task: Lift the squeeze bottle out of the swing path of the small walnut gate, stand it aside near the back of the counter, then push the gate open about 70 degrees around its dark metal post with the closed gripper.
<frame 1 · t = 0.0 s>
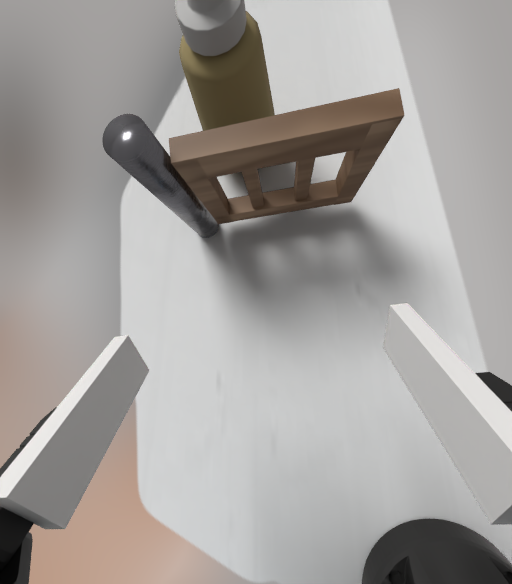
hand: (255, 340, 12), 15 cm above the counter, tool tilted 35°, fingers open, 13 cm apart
gate: (280, 177, 20), point 8 cm above the counter, hinge at 0.0°
gate post: (206, 225, 29), on the counter
squeeze bottle: (245, 151, 29), on the counter
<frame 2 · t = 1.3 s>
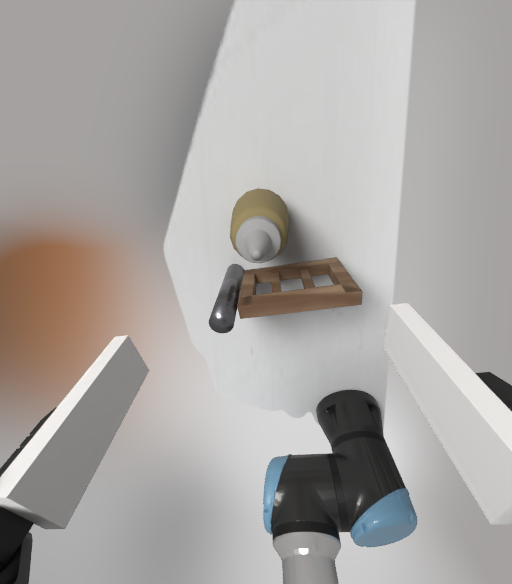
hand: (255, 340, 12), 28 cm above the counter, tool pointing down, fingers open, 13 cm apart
gate: (293, 284, 33), point 8 cm above the counter, hinge at 0.0°
gate post: (235, 271, 41), on the counter
squeeze bottle: (260, 214, 36), on the counter
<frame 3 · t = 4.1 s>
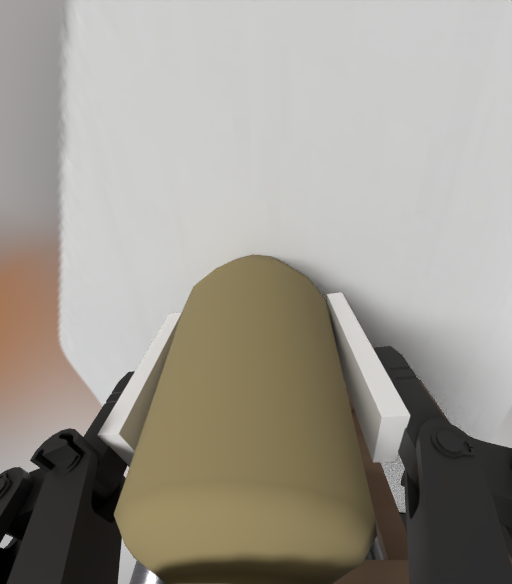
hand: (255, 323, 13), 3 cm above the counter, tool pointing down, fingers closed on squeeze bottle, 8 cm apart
gate: (337, 481, 13), point 8 cm above the counter, hinge at 0.0°
gate post: (209, 383, 21), on the counter
squeeze bottle: (257, 291, 16), on the counter, touching gripper
when the fingers open (5 cm above the counter, at t = 12.2 s): squeeze bottle drops 1 cm, on the counter.
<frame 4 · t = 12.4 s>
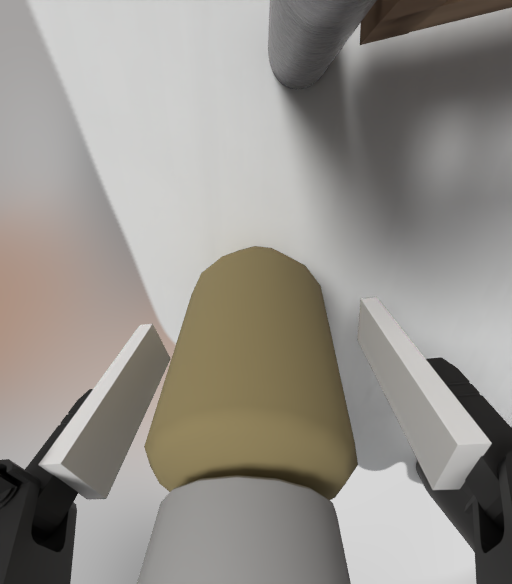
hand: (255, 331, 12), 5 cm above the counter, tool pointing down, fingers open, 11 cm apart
gate post: (300, 46, 11), on the counter
squeeze bottle: (258, 281, 17), on the counter
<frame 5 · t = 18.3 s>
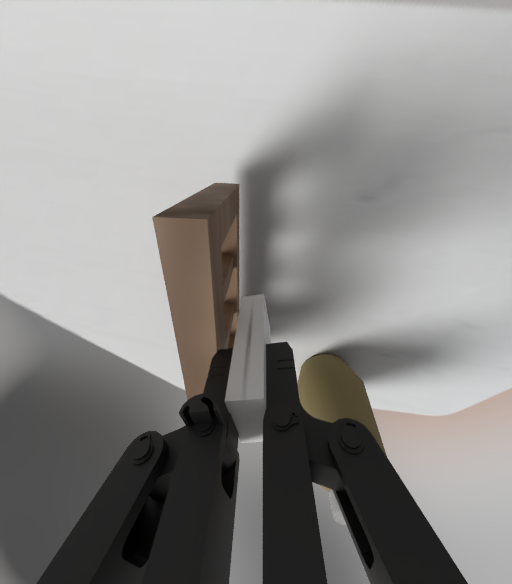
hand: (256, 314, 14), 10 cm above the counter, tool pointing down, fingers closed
gate: (219, 308, 16), point 8 cm above the counter, hinge at 4.3°, touching gripper
squeeze bottle: (322, 367, 30), on the counter
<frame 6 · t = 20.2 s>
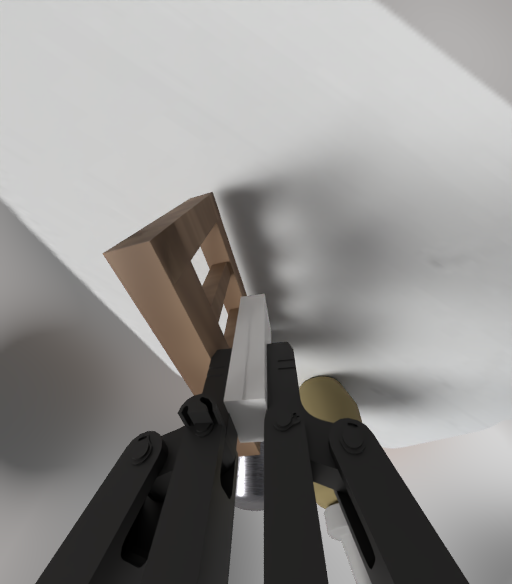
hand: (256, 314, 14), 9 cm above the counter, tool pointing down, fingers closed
gate: (222, 317, 16), point 8 cm above the counter, hinge at 42.7°, touching gripper
gate post: (257, 339, 27), on the counter
squeeze bottle: (319, 387, 32), on the counter
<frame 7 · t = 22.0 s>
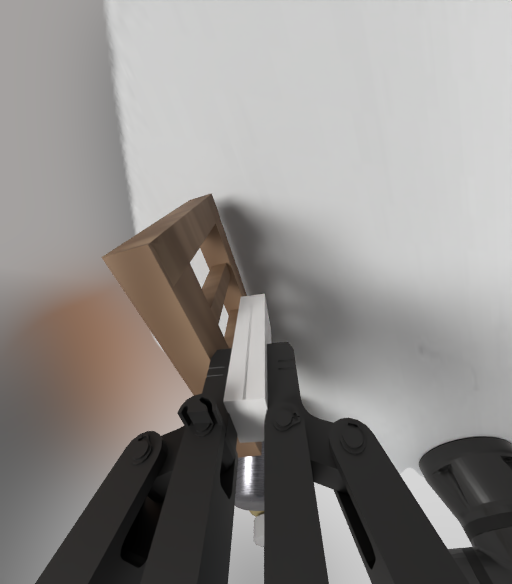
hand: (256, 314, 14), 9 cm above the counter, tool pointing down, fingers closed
gate: (223, 318, 16), point 8 cm above the counter, hinge at 77.7°, touching gripper
gate post: (258, 339, 27), on the counter
squeeze bottle: (272, 400, 34), on the counter
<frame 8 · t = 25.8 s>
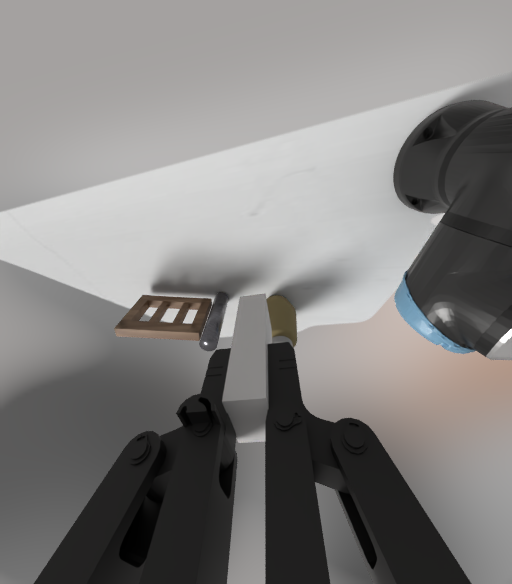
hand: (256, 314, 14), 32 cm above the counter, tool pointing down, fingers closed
gate: (168, 315, 45), point 8 cm above the counter, hinge at 77.8°
gate post: (222, 297, 52), on the counter
squeeze bottle: (276, 304, 53), on the counter
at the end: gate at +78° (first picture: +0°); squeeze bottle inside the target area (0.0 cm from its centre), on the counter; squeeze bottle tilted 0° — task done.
